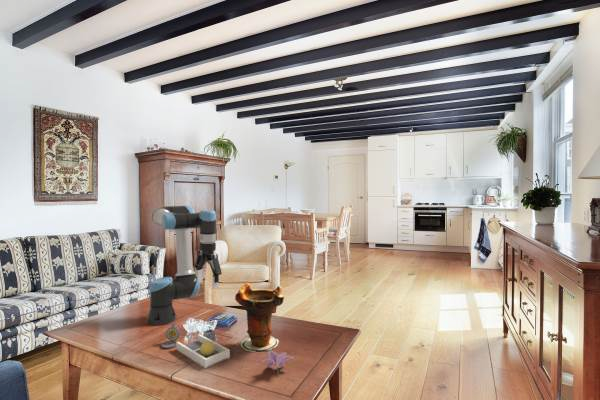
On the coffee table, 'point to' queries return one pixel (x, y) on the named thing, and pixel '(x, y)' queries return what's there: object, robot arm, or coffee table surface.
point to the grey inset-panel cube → (209, 334)
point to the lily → (276, 359)
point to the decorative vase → (259, 316)
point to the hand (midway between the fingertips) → (207, 285)
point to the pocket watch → (170, 332)
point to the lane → (205, 361)
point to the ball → (207, 348)
